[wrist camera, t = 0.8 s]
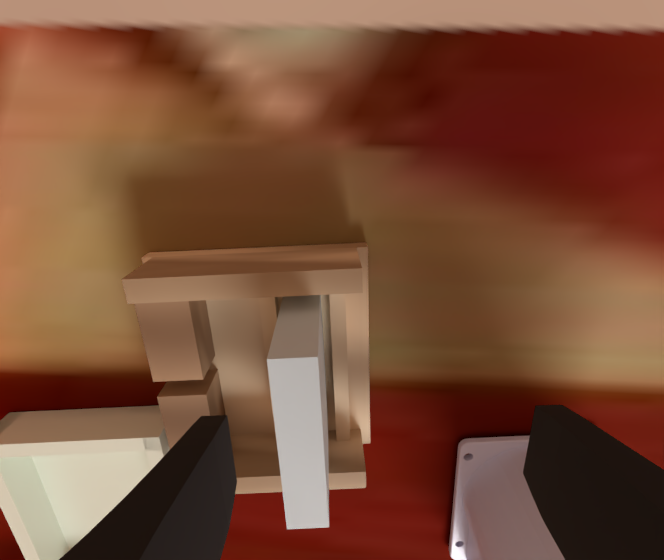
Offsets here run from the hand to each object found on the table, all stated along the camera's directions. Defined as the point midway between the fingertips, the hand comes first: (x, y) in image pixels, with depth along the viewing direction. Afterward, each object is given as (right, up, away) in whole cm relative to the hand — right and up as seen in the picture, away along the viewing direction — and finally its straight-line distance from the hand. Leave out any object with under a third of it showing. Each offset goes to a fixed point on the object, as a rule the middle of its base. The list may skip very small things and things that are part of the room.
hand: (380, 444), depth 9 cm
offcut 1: (-8, +2, +9) cm, 12 cm away
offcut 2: (-8, -2, +11) cm, 13 cm away
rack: (-4, 0, +11) cm, 11 cm away
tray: (-14, -9, +14) cm, 21 cm away
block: (-2, 0, +10) cm, 10 cm away
